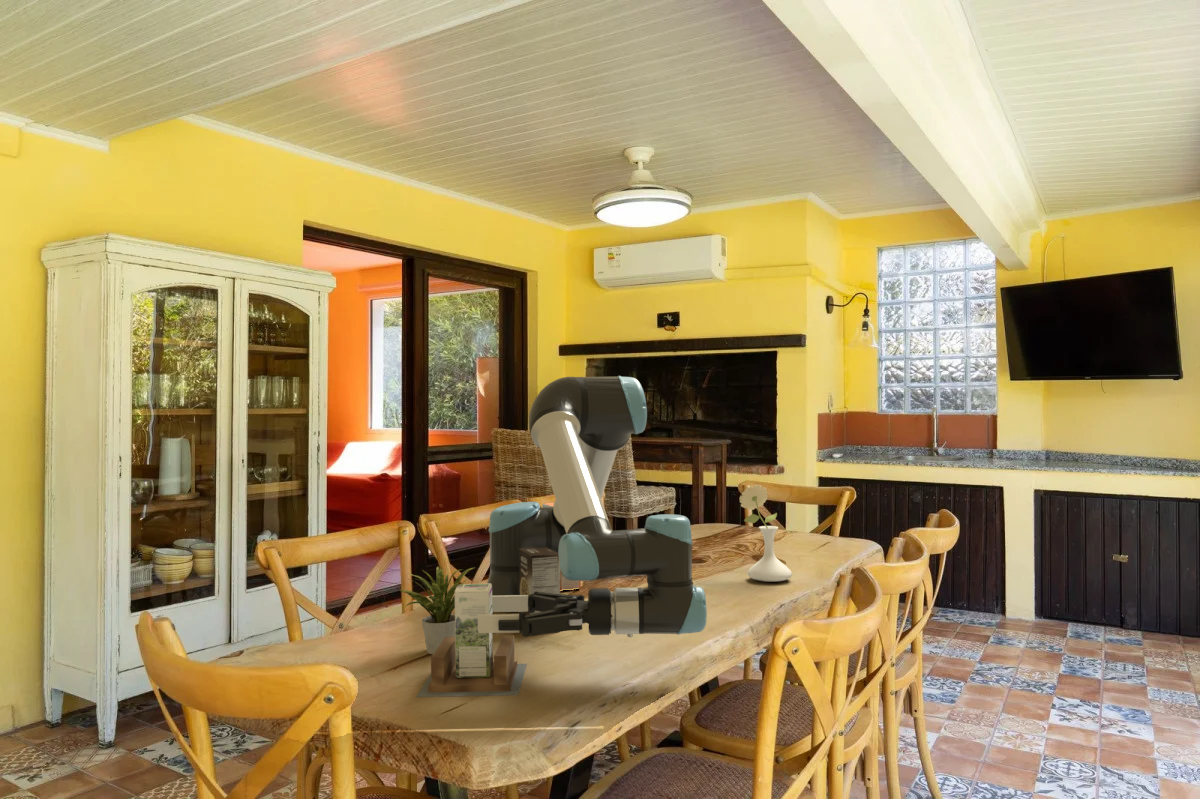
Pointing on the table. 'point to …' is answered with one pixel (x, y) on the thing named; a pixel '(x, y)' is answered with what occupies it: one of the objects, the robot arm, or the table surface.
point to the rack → (447, 681)
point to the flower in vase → (768, 564)
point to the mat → (514, 691)
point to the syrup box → (472, 631)
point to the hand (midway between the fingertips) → (484, 613)
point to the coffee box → (538, 571)
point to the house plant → (437, 608)
